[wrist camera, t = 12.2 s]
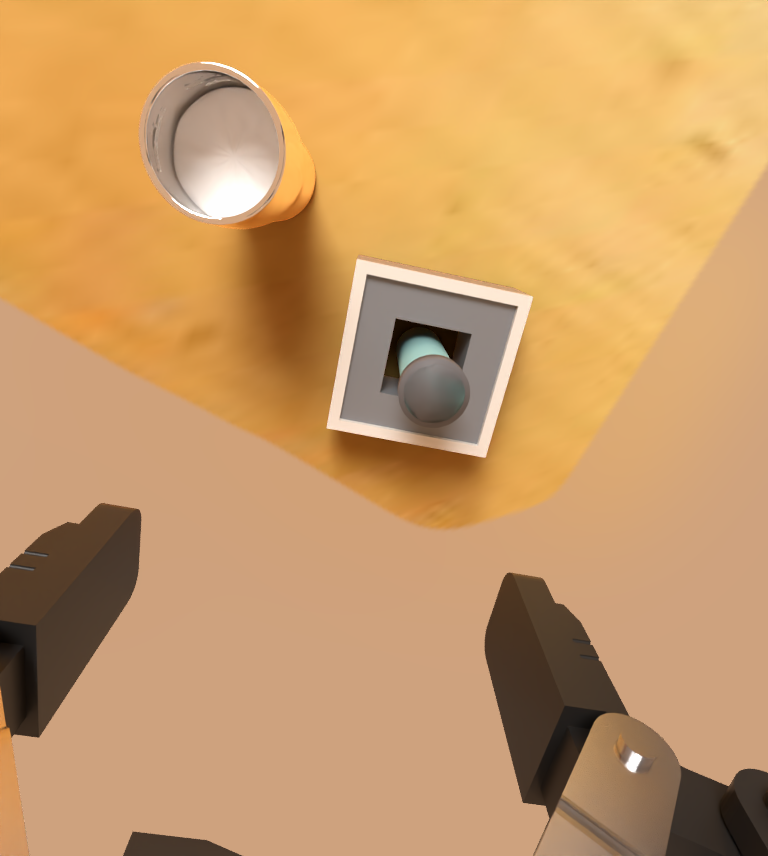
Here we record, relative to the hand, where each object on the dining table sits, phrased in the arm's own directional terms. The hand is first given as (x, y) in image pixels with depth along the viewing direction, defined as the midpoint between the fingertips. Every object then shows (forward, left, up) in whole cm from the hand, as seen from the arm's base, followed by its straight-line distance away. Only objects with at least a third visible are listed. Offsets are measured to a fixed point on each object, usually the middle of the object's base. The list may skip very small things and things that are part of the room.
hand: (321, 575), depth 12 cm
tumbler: (+8, -9, -32) cm, 34 cm away
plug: (-5, +1, -32) cm, 33 cm away
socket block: (-5, +1, -32) cm, 33 cm away
